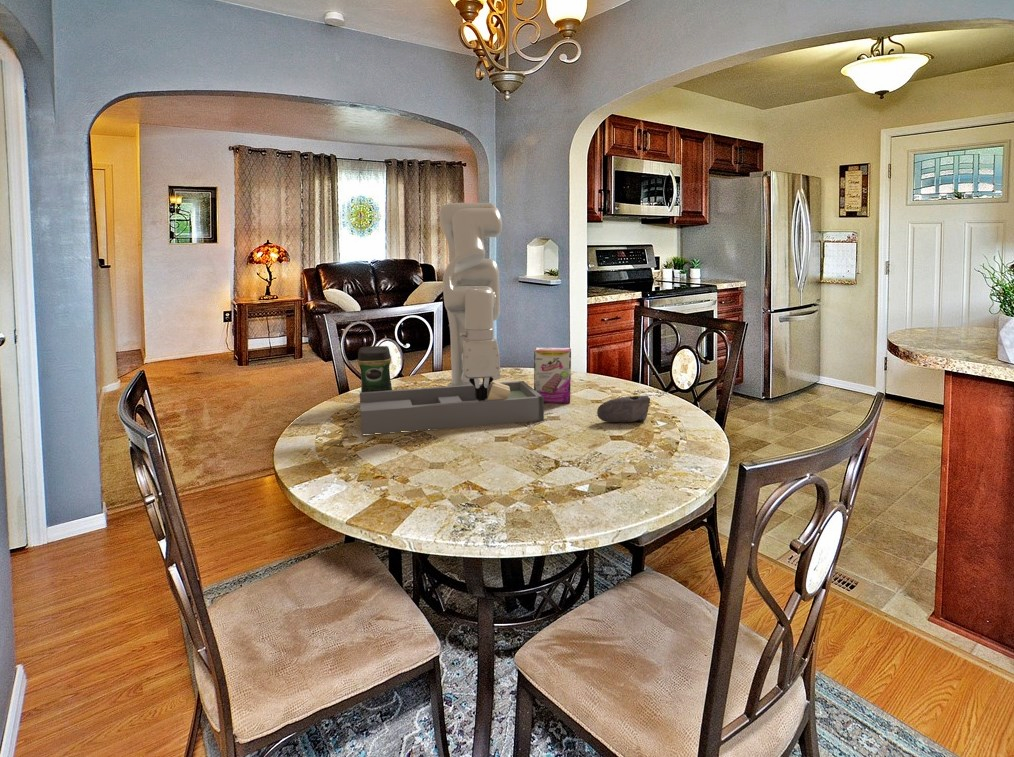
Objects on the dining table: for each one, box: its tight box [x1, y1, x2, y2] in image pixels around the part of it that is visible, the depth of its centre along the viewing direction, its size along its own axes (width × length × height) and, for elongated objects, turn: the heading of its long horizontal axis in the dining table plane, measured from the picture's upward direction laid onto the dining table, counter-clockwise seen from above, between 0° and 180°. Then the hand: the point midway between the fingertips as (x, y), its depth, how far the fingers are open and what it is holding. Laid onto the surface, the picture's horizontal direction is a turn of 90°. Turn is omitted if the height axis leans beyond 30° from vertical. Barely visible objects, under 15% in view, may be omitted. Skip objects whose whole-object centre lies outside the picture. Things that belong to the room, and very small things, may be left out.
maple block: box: [486, 380, 510, 400], centre depth 170 cm, size 5×5×5 cm
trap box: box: [359, 380, 545, 436], centre depth 174 cm, size 21×48×6 cm, turn 104°
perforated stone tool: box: [596, 395, 651, 424], centre depth 167 cm, size 15×5×7 cm, turn 95°
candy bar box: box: [533, 347, 572, 404], centre depth 188 cm, size 11×5×16 cm, turn 84°
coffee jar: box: [357, 345, 393, 392], centre depth 184 cm, size 10×8×19 cm
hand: (481, 401), depth 171 cm, fingers closed
